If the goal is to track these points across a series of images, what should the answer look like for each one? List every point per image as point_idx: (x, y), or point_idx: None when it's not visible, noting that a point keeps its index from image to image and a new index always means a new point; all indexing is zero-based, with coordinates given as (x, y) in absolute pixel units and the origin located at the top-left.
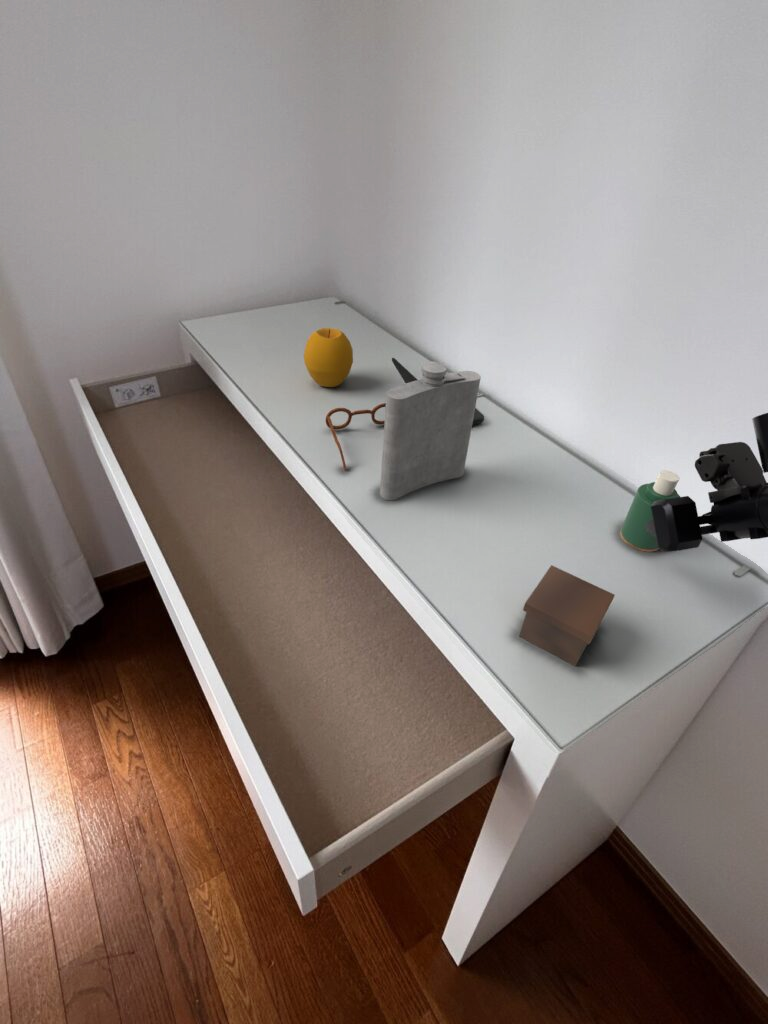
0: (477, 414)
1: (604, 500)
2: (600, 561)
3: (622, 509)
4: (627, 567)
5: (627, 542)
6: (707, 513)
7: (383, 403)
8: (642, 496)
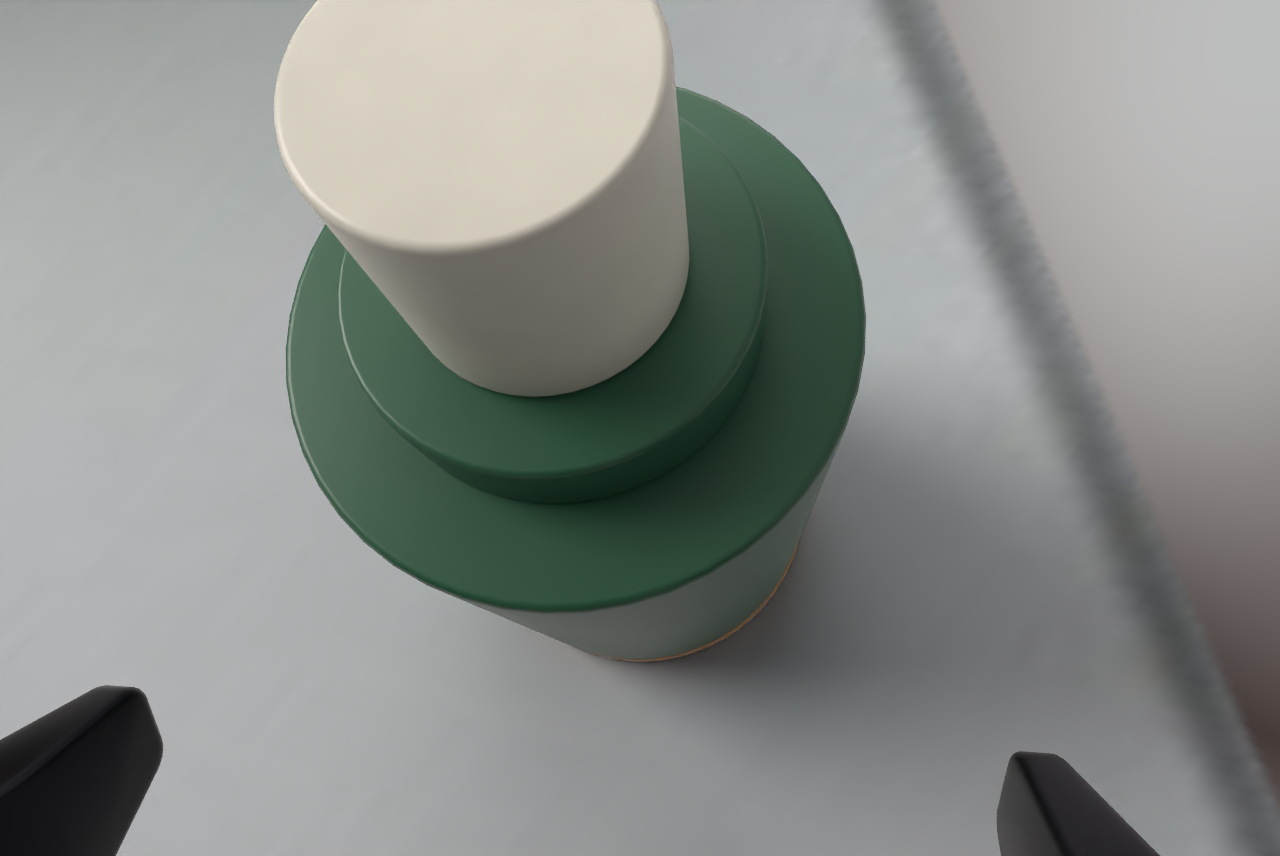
0: None
1: None
2: (167, 640)
3: None
4: (306, 760)
5: None
6: (1048, 834)
7: None
8: (332, 274)
